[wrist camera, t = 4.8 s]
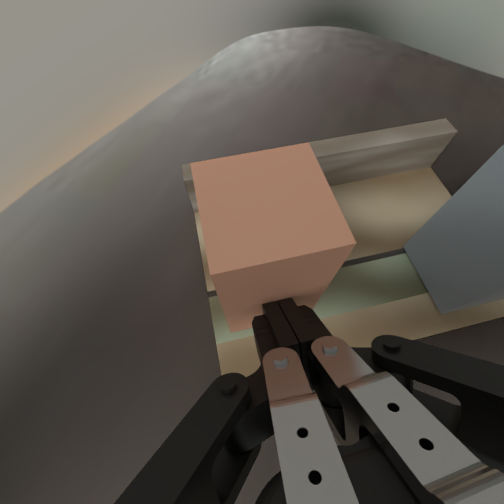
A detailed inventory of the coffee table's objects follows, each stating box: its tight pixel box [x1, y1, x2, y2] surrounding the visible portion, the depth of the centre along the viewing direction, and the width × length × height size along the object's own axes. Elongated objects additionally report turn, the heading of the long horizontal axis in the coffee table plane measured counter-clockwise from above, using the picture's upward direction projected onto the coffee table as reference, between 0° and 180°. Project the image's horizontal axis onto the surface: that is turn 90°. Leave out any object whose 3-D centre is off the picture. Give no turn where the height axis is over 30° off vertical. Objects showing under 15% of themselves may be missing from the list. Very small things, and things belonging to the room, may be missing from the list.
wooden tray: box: [181, 118, 504, 377], centre depth 18 cm, size 14×20×4 cm
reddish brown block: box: [190, 142, 357, 333], centre depth 14 cm, size 5×5×9 cm
